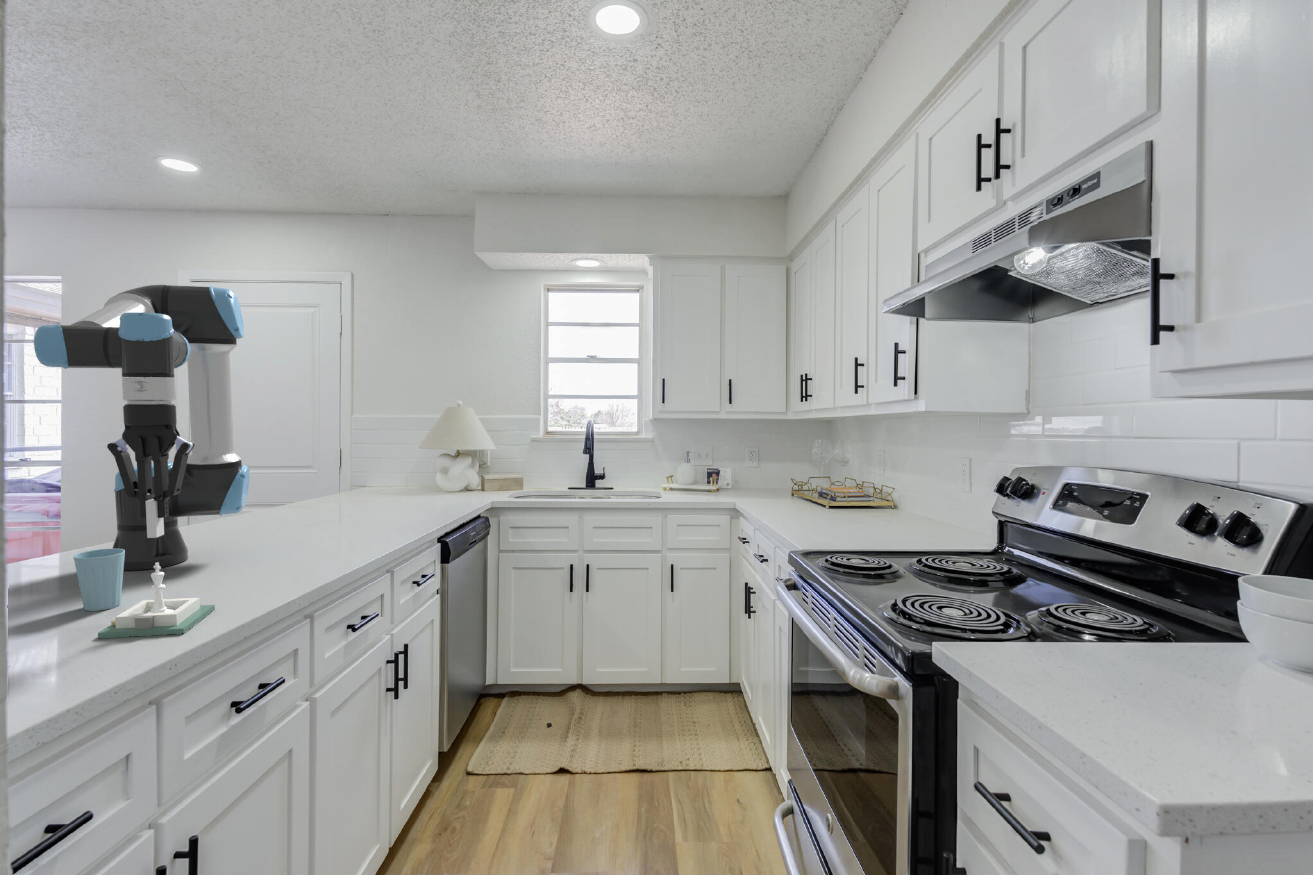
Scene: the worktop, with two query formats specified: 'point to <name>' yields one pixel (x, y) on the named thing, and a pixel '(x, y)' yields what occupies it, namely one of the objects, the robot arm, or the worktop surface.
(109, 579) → the cup
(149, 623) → the header board
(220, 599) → the worktop surface
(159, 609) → the chess piece
